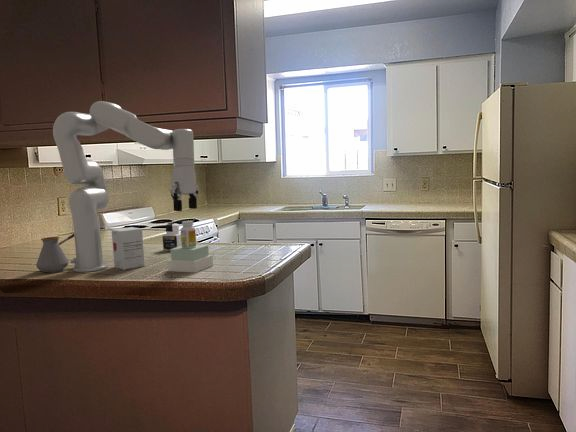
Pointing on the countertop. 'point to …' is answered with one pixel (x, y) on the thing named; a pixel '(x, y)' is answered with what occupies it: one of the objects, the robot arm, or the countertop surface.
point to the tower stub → (190, 259)
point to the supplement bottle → (188, 235)
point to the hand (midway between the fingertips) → (185, 209)
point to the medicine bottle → (171, 237)
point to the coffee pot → (52, 255)
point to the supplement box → (128, 248)
